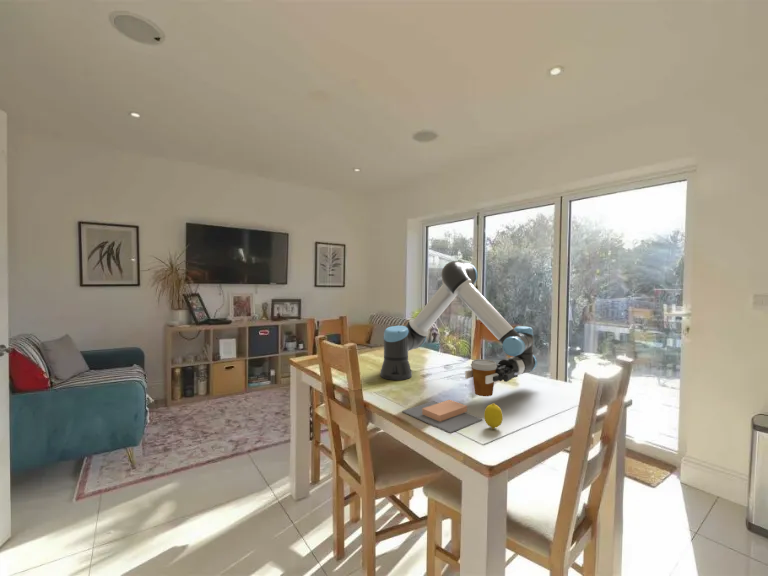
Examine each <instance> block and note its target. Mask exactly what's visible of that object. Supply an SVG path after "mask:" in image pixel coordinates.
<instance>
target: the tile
mask: <svg viewBox="0 0 768 576" xmlns="http://www.w3.org/2000/svg"><path fill="white" fill-rule="evenodd" d="M462 413H468V405H466V404H463V403H460V402H457V401H455V400H451V399H447V400H445V401H442V402H438V404H435V405H432V406H429V407H425V408H422V414H423V415H425V416H427V417H429V418H432V419H434V420H436V421H439V422H441V421H444V420H446V419H449V418H452V417H454V416H457V415H460V414H462Z"/></svg>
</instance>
